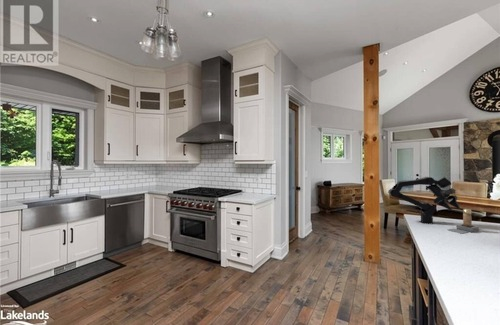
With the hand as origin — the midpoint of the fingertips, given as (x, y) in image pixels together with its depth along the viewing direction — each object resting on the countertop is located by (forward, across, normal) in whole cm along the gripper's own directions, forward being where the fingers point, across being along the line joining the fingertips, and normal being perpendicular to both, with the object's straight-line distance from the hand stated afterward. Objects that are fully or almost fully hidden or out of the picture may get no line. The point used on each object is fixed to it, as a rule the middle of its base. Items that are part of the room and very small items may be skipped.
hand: (455, 209), depth 157 cm
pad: (+13, -9, +5) cm, 17 cm away
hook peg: (+14, 0, +4) cm, 15 cm away
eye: (+14, 0, +4) cm, 15 cm away
